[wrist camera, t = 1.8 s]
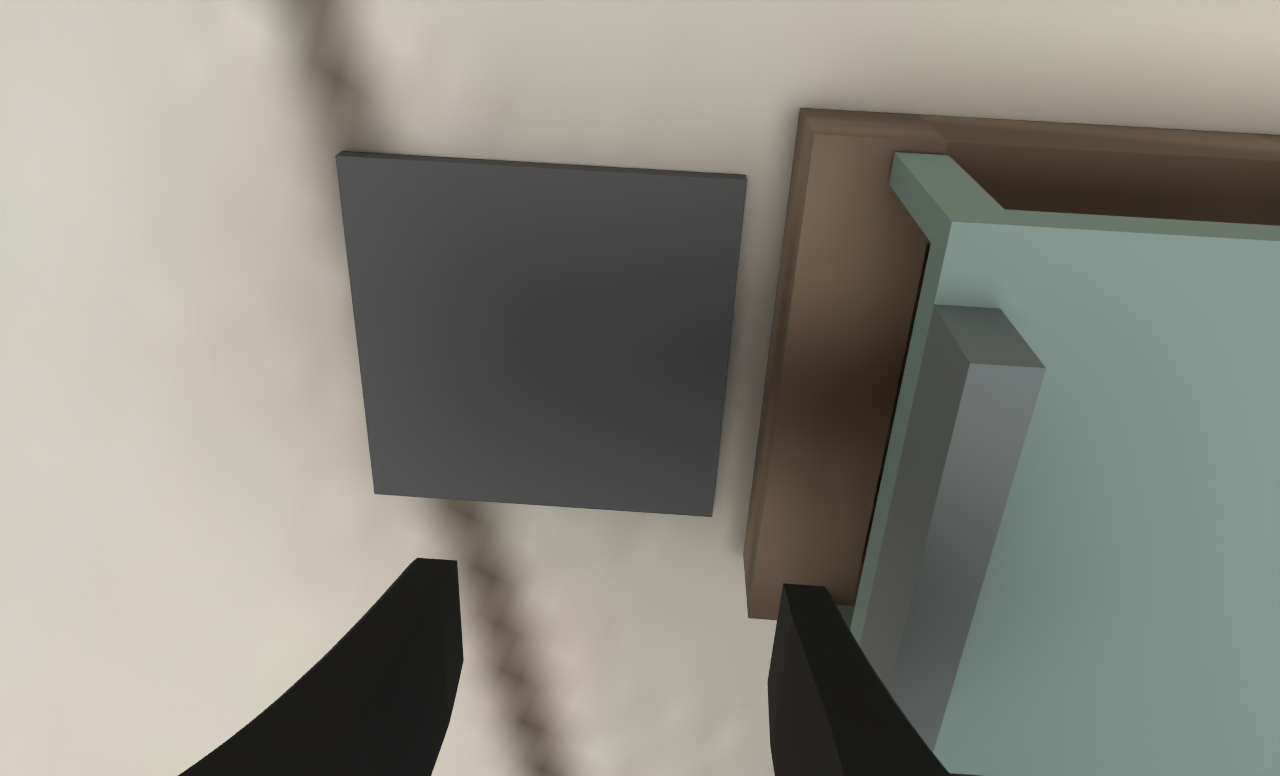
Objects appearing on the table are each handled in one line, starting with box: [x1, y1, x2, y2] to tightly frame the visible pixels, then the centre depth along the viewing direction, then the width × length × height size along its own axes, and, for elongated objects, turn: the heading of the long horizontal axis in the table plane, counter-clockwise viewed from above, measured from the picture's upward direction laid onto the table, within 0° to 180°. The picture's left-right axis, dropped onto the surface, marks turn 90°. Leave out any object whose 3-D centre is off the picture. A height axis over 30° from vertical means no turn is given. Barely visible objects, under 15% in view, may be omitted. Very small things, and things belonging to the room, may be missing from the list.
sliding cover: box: [836, 152, 1280, 776], centre depth 17 cm, size 12×9×6 cm
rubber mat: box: [336, 151, 747, 517], centre depth 22 cm, size 9×9×1 cm
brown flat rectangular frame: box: [743, 108, 1280, 620], centre depth 20 cm, size 12×22×2 cm, turn 88°
